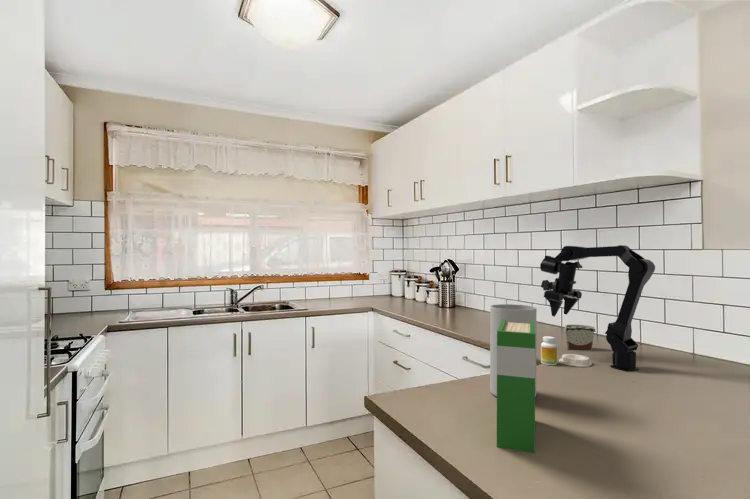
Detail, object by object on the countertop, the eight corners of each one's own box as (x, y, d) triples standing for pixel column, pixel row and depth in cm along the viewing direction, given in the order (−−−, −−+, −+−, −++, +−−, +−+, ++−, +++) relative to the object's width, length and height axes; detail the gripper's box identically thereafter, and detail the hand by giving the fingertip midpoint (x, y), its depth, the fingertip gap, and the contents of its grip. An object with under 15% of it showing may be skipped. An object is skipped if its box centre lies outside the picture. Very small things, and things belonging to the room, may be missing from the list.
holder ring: (599, 365, 150) (599, 359, 150) (577, 368, 146) (577, 362, 146) (573, 358, 160) (573, 352, 160) (552, 360, 156) (552, 355, 156)
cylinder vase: (506, 404, 110) (506, 310, 110) (481, 389, 122) (482, 304, 123) (545, 400, 114) (546, 309, 114) (518, 386, 126) (518, 303, 126)
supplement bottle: (558, 366, 148) (558, 339, 149) (542, 365, 149) (542, 338, 150) (555, 362, 154) (555, 336, 154) (539, 361, 155) (539, 335, 155)
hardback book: (501, 415, 102) (502, 318, 103) (533, 420, 100) (534, 320, 100) (496, 446, 86) (497, 331, 86) (534, 453, 83) (535, 333, 83)
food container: (589, 347, 178) (589, 324, 178) (595, 351, 172) (595, 327, 172) (559, 347, 179) (559, 324, 179) (564, 350, 173) (564, 326, 173)
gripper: (559, 272, 175) (552, 307, 177) (534, 273, 163) (528, 311, 166) (585, 278, 166) (578, 315, 168) (561, 279, 155) (554, 319, 157)
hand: (559, 315), depth 165 cm, fingers open, 9 cm apart
